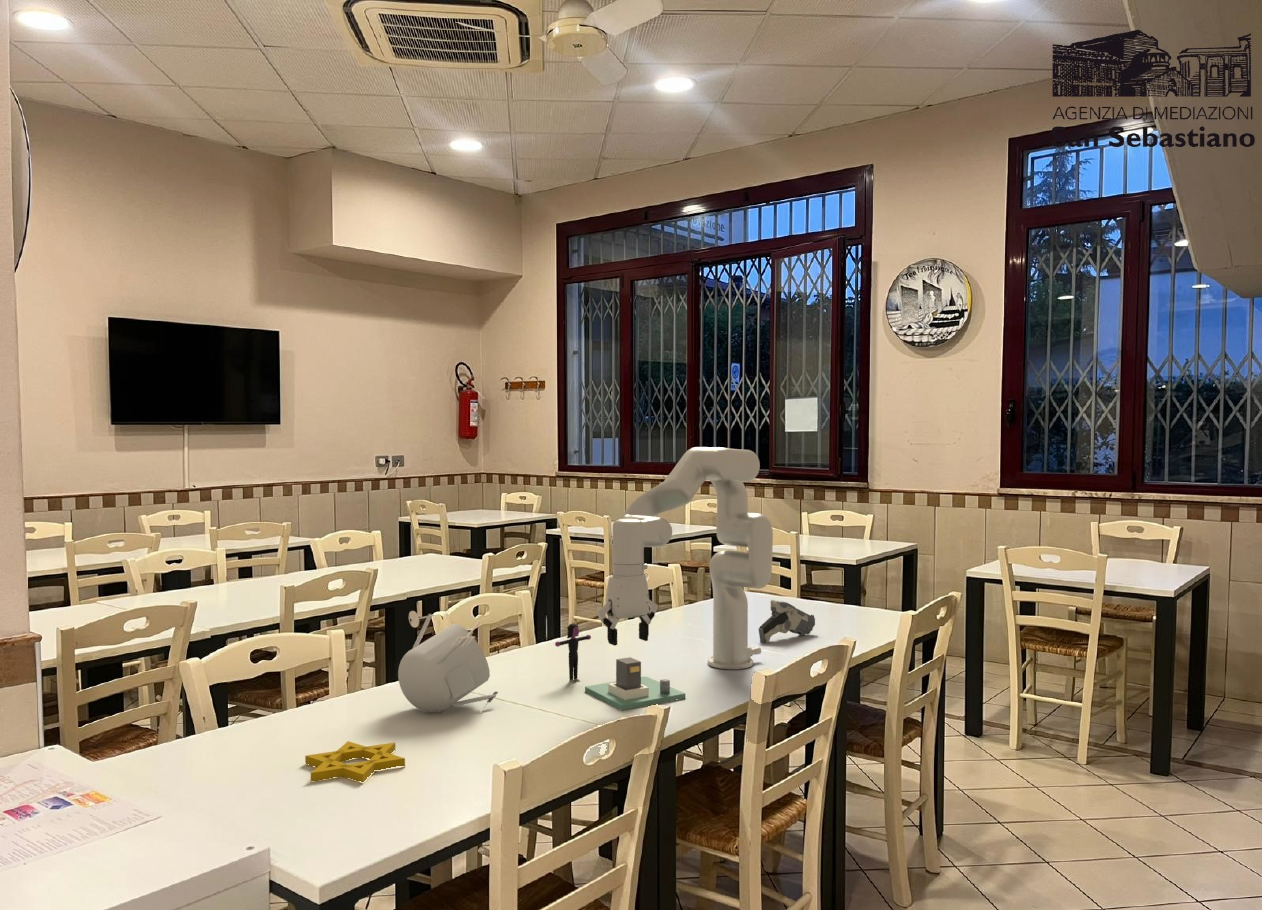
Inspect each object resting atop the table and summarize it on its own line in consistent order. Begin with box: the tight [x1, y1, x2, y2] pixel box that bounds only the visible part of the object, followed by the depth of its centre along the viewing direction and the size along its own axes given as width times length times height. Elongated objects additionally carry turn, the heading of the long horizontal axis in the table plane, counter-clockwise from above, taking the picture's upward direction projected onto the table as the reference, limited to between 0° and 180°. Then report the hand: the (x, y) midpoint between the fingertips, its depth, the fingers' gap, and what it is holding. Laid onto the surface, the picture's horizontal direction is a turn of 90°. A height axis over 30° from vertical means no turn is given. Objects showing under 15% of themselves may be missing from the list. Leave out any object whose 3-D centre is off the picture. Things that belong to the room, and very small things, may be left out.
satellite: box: [397, 610, 499, 714], centre depth 211 cm, size 23×20×25 cm
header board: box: [584, 676, 686, 711], centre depth 223 cm, size 18×18×4 cm
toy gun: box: [758, 599, 816, 644], centre depth 283 cm, size 4×21×15 cm, turn 124°
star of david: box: [304, 740, 406, 782], centre depth 176 cm, size 20×17×2 cm
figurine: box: [554, 622, 592, 684], centre depth 235 cm, size 12×4×15 cm, turn 136°
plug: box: [615, 657, 642, 690], centre depth 219 cm, size 4×6×8 cm
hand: (628, 641), depth 219 cm, fingers open, 8 cm apart
